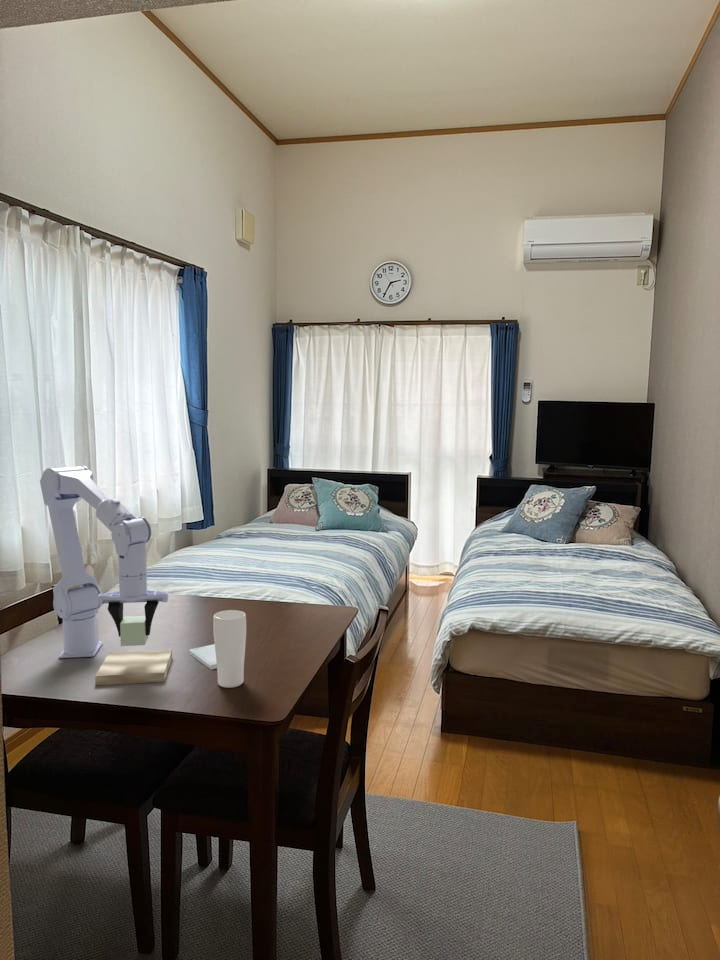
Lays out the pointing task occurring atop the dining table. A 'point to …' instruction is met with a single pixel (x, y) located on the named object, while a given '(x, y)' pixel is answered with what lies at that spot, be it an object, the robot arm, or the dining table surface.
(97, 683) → the birch base
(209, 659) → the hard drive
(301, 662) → the dining table surface
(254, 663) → the dining table surface
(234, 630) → the drinking glass
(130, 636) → the sage cube
